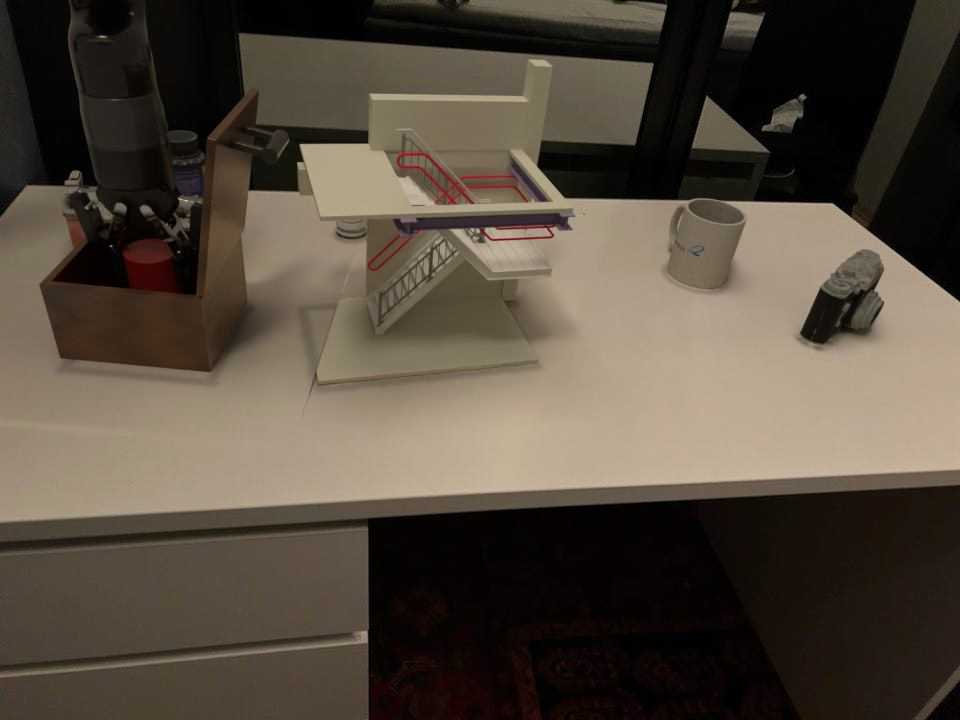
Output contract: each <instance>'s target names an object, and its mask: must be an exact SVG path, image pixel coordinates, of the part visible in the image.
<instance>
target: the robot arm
mask: <svg viewBox="0 0 960 720" xmlns="http://www.w3.org/2000/svg"><path fill="white" fill-rule="evenodd" d="M68 3H69V9H70V23H69V27H68V32H67V42H68V43H67V44H68V50H69V54H70V55H69V56H70V60H71V61H70V62H71V65H72V69H73V73H74V78H75V82H76V83H75V84H76V86H77V92H78V99H79V111H80V117H81V121H82V122H81V123H82V127H83V130H84V135H85V140H86V143H87V148H88V152H89V157H90V161H91V166H92V171H93V174H94V178H95V180H96V182H97V187H91V186H89V185H87V184H82V185H81V186H80V187H79V188H78V189H77V190H76V191H75V192H74V193H72V194H71V195H70V197H69V199H70V201H71V204H72V206H73V208H74V211H75V213H76V215H77V218H78V220H79V222H80V224H81V227H82V229H83V231H84V234H85V236H86V238H87V241H88V242H89V244H91V245H93V246H97V245H101V246H103V247H105V248H106V249H107V250H108V251H109V253H110V258H111V262H112V266H113V271H114V273H115V274H116V276H119V278H120V280H121V281H128V277H127V272H126V267H125V262H124V257H123V250H124V248H125V247H126V246H128V244H125V240H126V237H127V234H128V231H129V229H140V228H142V229H146V230H149V231H155V232H156V233H157V235H158V236H159V238H160V239H161V241H163V242H166V244H167V245H168V247H169V248H170V250H171V251H172V253H173V254H174V257H173V258H172V259H173V264H174V270H175V276H176V281H177V285H178V286H185V285H186V284H187V282H189V281H190V279H191V278H192V276H193V273H194V269H193V263H192V257H191V254H194V255H198V254H199V246H200V232H201V217H202V202H203V196H200V197H198V199H196V198H191V197H187V196H183V195H182V194H181V192H180V191H179V189H178V188H177V186H176V183H175V174H174V167H173V161H172V155H171V149H170V143H169V136H168V132H169V124H168V121H167V118H166V113H165V109H164V104H163V101H162V98H161V95H160V90H159V87H158V81H157V75H156V69H155V62H154V57H153V51H152V47H151V43H150V39H149V33H148V26H147V25H148V24H147V3H146V0H68ZM90 187H91V188H90ZM100 204H101V205H102V206H103V207H104V208H105V209H106V211H108V212H109V213H110V214H111V215H112V217H111V219H110V220H111V223H110V227H109V230H108V229H107V227H106V224H105V222H104V220H103V219H104V217H103V215H102V212H101V210H100V207H99V205H100ZM178 207H181V208H182V209H183V210H184V212H185V216H186V217H185V218H186V219H187V220H189V228H190V233H189V238H188V236H187V235H186V233H185V232H184V230H183V227H184V226H183V222H182V221H181V220H180V217H179V216H177V214H176V213H175V211H176V210H177V208H178ZM166 225H168V227H167V226H166Z"/></svg>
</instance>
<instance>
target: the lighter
mask: <svg viewBox="0 0 960 720" xmlns="http://www.w3.org/2000/svg"><path fill="white" fill-rule="evenodd" d="M83 182H84V178H83V173H82V172H80V170H73V171H71V173H70V174H69V178H68V179H67V180H64V195H63V197H62V199H61V204H60V207H61V212H62V216H63V218H65V220H66V224H67V225H66V226H67V228H68V233H69V237H70V241H71V245H72V248H73V249H74V248H75V247H76V246H77V245H78V244H79V243H80V242H81V241H82V240H83V239H84V238H85V237H86V236H85V234H84V231H83V229H82V227H81V224H80V222H79V220H78V218H77V215H76V213H75V211H74V208H73V206H72V204H71V201H70V199H69V197H70V195H71V194H72V193H74V192H75V191H76V190H77V189H78V188H79V187H80V186H81V185H83ZM89 187H90V188H92V187H91V186H89ZM73 249H72V250H73Z"/></svg>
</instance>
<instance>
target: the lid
mask: <svg viewBox="0 0 960 720" xmlns="http://www.w3.org/2000/svg"><path fill="white" fill-rule="evenodd" d="M259 97H260V90H259V89H258V88H254V87H251V88H250V89H249V90H248V92H246V93H245V95H244V96H243V97H242V98H241V99H240V101H238V103H237V104H236V105H235V106H234V107H233V108H232V110H231V111H230V112H229V113H228V114H227V115H226V116H225V117H224V118H223V119H222V120H221V122H219V123H218V125H217V126H216V128H214V130H213V131H212V132H211V133H210V134H209V135H208V136H207V138H206V145H205V173H204V188H203V202H202V217H201V232H200V246H199V261H198V276H197V290H196V295H199V296H205V294H206V293H207V291H208V289H209V288H210V286H211V284H212V283H213V281H214V279H215V278H216V276H217V274H218V273H219V271H220V269H221V268H222V266H223V264H224V263H225V261H226V259H227V258H228V256H229V254H230V253H231V251H232V249H233V248H234V246H235V244H236V243H237V241H238V239H239V238H240V236H241V237H242V234H243V233H244V231H245V228H246V227H245V226H246V216H247V209H248V199H249V190H250V182H251V172H252V162H253V155H255V156H258V157H260V158H261V160H262V161H263V162H264V163H266V164H268V165H274V164H276V162H277V161H278V159H279V158H280V157H281V155H282V154H283V152H284V151H285V149H286V147H287V146H288V144H289V142H290V136H289V134H288V132H287V131H286V130H283V129H277V130H275V131H274V132H272V131H269V130H266V129H262V128H259V127H256V126H257V124H256V123H257V116H258V107H259V106H258V105H259ZM255 138H258V139H262V140H265V141H267V142H266V143H265V145H264V146H260V145H257V144H254V143H255Z"/></svg>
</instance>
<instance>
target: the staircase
mask: <svg viewBox="0 0 960 720" xmlns="http://www.w3.org/2000/svg"><path fill="white" fill-rule="evenodd" d="M553 69H554V66H553V65H552V64H551V63H549V62H548V61H547V60H546V59H530V58H529V59H527V65H526V71H525V78H524V85H523V93H522V95H487V94H485V95H483V94H482V95H476V94H475V95H474V94H472V95H471V94H423V93H421V94H420V93H419V94H416V93H415V94H414V93H412V94H411V93H408V94H407V93H369V95H368V140H367V141H368V142H367V143H299V151H300V155H301V158H302V161H298V162H296V167H297V188H298V189H297V190H298V194H299V196H301V197H302V196H303V197H304V196H313V199H314V203H315V207H316V210H317V213H318V217H319V221H320V222H335V221H341V220H365V221H366V243H365V244H366V245H365V246H366V249H365V251H366V252H365V255H366V256H365V260H366V261H365V296H360V297H359V296H358V297H343V298H338V299H337V302H336V306H335V309H334V312H333V315H332V318H331V321H330V324H329V327H328V331H327V334H326V336H325V337H326V338H325V340H324V343H323V347H322V350H321V353H320V356H319V358H318V362H317V365H316V368H315V374H316V379H317V384H318V385H319V386H320V385H330V384H331V385H332V384H341V383H349V382H350V383H351V382H361V381H370V380H379V379H380V380H381V379H389V378H391V379H392V378H401V377H410V376H421V375H430V374H438V373H451V372H461V371H470V370H480V369H489V368H490V369H491V368H501V367H511V366H519V365H521V366H522V365H531V364H538V360H539V359H538V357H537V356H536V354H535V352H534V350H533V348H532V347H531V345H530V344H529V342H528V340H527V338H526V337H525V335H524V333H523V332H522V330H521V328H520V327H519V325H518V323H517V321H516V320H515V317H513V315H512V313H511V311H510V310H509V307H508V306H507V304H506V302H511V301H512V302H513V301H516V300H517V293H518V288H519V282H520V280H521V279H522V280H523V279H538V278H552V277H553V275H552V271H553V270H554V267H553V266H552V265H551V263H550V262H549V261H548V259H547V258H546V256H545V255H544V254H543V252H542V250H540V248H539V247H538V246H537V243H535V241H534V240H547V239H553V238H554V237H555V234H554V233H553V231H552V230H551V229H554V228H556V229H557V230H558V231H559V232H561V231H562V232H563V231H574V230H573V227H572V226H571V225H570V224H569V218H575V217H576V214H575V213H574V207H573V206H572V205H571V203H569V201H568V200H567V199H566V198H565V196H564V195H562V194H561V192H560V191H559V190H558V189H557V188H556V187H555V185H554V184H553V183H552V182H551V181H550V180H549V179H548V177H547V176H546V175H545V174H544V173H543V172H542V171H541V170H540V168H539V167H538V164H539V158H540V157H539V156H540V150H541V145H542V137H543V131H544V125H545V119H546V113H547V106H548V101H549V96H550V95H549V94H550V88H551V82H552V76H553ZM532 200H533V201H534V202H532ZM535 229H546V230H547V231H548V232H549V234H550V235H549V236H546V235H545V236H530V234H529V233H528V232H527V231H528V230H535Z"/></svg>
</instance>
